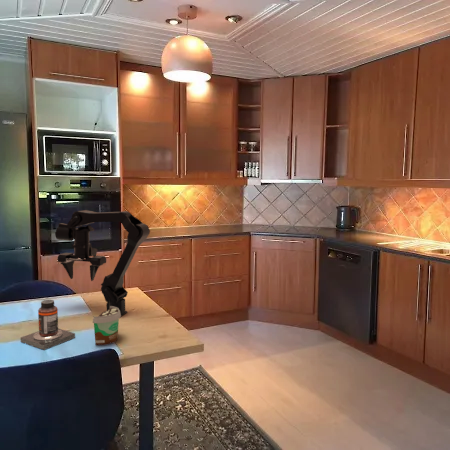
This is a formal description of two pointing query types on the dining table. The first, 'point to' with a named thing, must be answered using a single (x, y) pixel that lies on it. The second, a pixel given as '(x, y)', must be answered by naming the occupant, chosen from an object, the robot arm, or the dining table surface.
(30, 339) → the plate
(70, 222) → the robot arm
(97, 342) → the food container
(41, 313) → the supplement bottle
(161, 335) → the dining table surface
